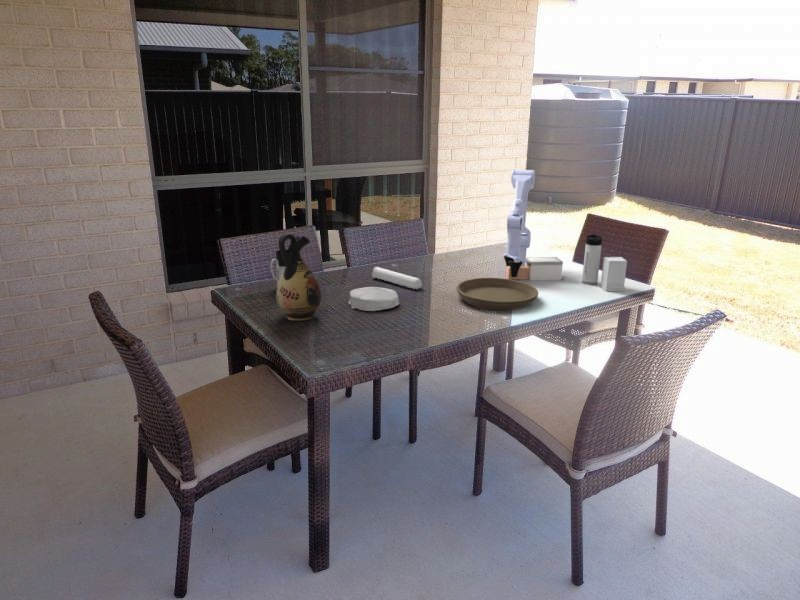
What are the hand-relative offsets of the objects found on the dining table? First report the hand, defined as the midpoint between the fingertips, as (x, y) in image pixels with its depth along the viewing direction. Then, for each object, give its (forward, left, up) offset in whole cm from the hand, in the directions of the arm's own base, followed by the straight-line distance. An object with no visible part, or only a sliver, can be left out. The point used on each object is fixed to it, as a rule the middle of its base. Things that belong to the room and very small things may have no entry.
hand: (511, 274), depth 261 cm
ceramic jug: (+47, -87, -2) cm, 99 cm away
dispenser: (0, +13, -1) cm, 13 cm away
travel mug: (+9, +31, -2) cm, 32 cm away
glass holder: (+13, -96, -2) cm, 97 cm away
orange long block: (0, +6, -2) cm, 6 cm away
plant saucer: (+29, -13, -2) cm, 32 cm away
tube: (+7, -50, -2) cm, 50 cm away
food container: (+32, -60, -2) cm, 68 cm away
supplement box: (+18, +37, -2) cm, 41 cm away
